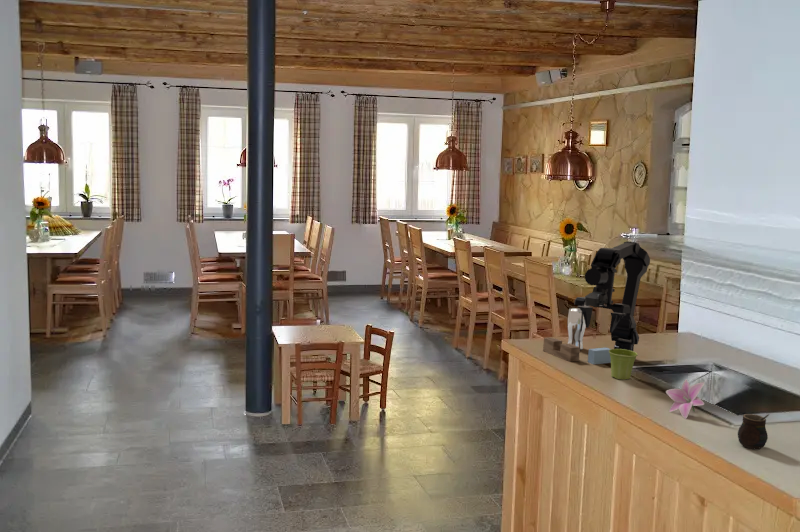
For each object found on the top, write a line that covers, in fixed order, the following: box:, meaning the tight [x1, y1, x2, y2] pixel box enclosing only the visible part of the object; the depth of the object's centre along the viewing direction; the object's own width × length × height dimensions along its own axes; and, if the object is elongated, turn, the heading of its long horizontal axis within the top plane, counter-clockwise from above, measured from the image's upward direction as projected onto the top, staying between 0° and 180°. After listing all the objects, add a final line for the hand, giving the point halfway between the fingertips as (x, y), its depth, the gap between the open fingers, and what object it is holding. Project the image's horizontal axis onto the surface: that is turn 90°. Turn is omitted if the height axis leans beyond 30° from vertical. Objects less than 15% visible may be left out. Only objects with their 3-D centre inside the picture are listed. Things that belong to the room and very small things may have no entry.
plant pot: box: [609, 348, 639, 381], centre depth 271 cm, size 9×9×9 cm
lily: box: [665, 379, 705, 420], centre depth 235 cm, size 12×12×10 cm
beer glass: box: [567, 307, 586, 351], centre depth 309 cm, size 7×7×15 cm
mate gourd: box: [737, 413, 770, 451], centre depth 209 cm, size 7×8×10 cm
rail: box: [542, 336, 581, 363], centre depth 296 cm, size 4×16×5 cm, turn 27°
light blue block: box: [587, 347, 612, 365], centre depth 289 cm, size 8×3×5 cm, turn 117°
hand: (599, 329), depth 278 cm, fingers open, 9 cm apart
